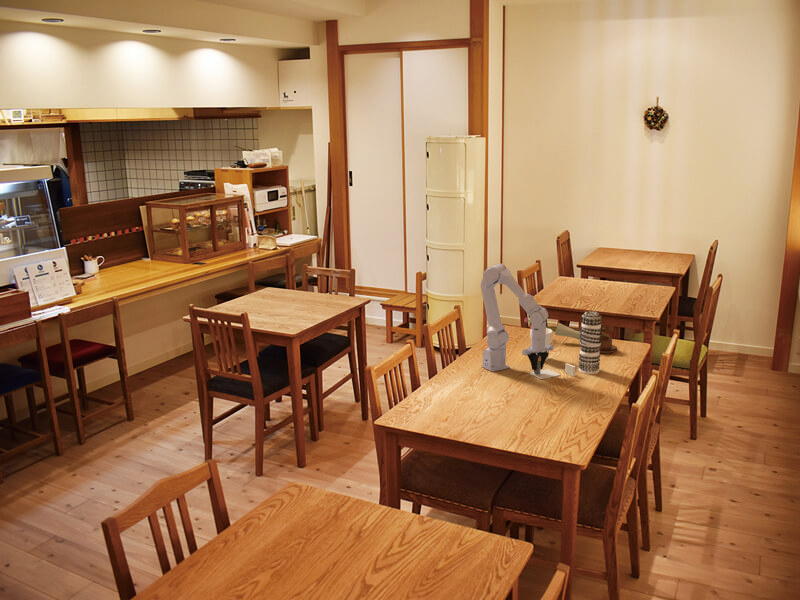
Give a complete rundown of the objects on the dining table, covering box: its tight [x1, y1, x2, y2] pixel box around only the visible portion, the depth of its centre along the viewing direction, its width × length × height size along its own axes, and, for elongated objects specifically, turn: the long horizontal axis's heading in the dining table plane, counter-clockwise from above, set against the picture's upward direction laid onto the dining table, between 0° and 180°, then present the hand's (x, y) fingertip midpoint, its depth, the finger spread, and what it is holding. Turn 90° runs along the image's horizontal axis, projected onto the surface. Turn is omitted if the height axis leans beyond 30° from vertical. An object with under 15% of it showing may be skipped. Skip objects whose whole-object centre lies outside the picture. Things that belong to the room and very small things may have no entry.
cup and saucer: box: [599, 335, 618, 354], centre depth 323 cm, size 12×12×6 cm
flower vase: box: [523, 314, 582, 341], centre depth 337 cm, size 12×12×35 cm
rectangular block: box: [564, 362, 576, 377], centre depth 293 cm, size 5×1×4 cm, turn 27°
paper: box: [528, 368, 561, 380], centre depth 294 cm, size 10×8×1 cm
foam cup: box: [529, 327, 553, 362], centre depth 312 cm, size 10×9×13 cm
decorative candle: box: [578, 310, 603, 375], centre depth 295 cm, size 9×9×25 cm
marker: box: [533, 356, 542, 374], centre depth 293 cm, size 3×3×7 cm
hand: (537, 369), depth 293 cm, fingers closed on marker, 3 cm apart
